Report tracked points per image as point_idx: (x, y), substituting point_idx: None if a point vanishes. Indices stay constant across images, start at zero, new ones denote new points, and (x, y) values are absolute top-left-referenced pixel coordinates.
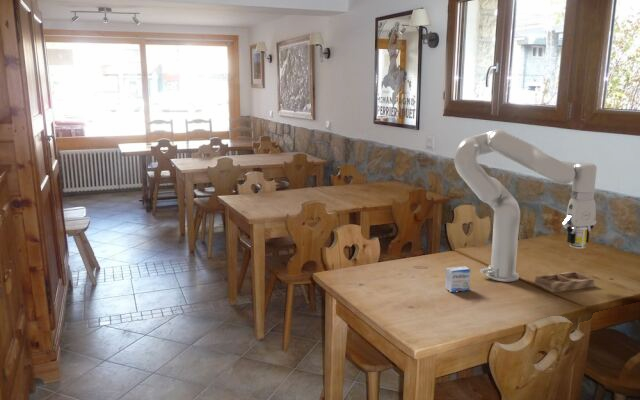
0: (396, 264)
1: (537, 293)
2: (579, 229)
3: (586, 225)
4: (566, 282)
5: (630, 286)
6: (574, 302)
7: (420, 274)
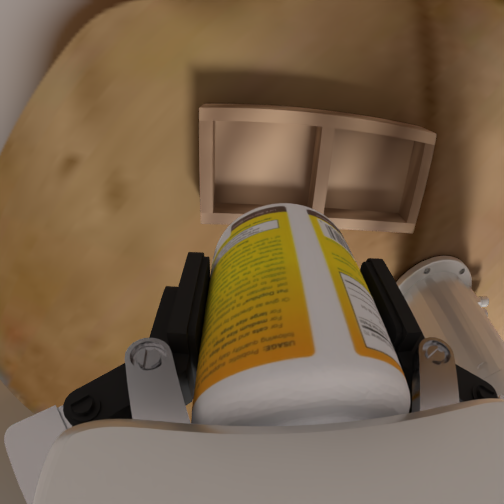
0: None
1: (465, 145)
2: (399, 374)
3: (300, 436)
4: (367, 125)
5: (57, 76)
6: (422, 21)
7: None
